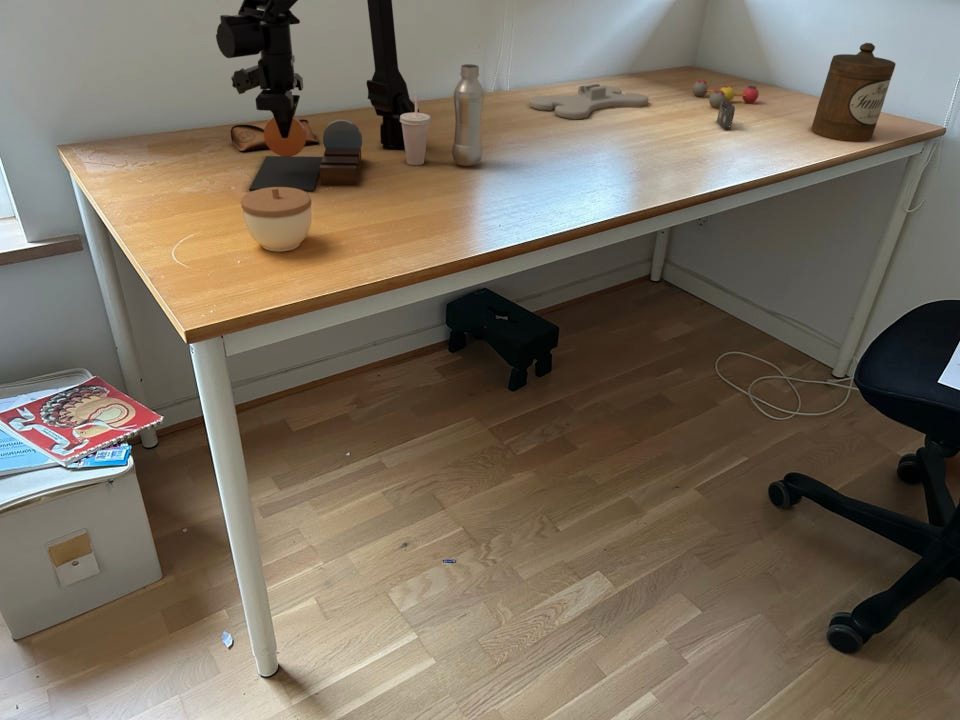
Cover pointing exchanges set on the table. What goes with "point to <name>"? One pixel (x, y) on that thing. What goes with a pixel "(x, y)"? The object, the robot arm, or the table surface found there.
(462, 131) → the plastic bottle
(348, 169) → the coaster rack
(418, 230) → the table surface
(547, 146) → the table surface
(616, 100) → the holder
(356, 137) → the blue-grey coaster
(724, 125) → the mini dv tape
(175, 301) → the table surface
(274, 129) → the terracotta coaster
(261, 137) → the sunglasses case
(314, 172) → the grey mat
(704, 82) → the molecule model
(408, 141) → the smoothie
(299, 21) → the robot arm
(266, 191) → the trinket box
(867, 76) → the wooden container
